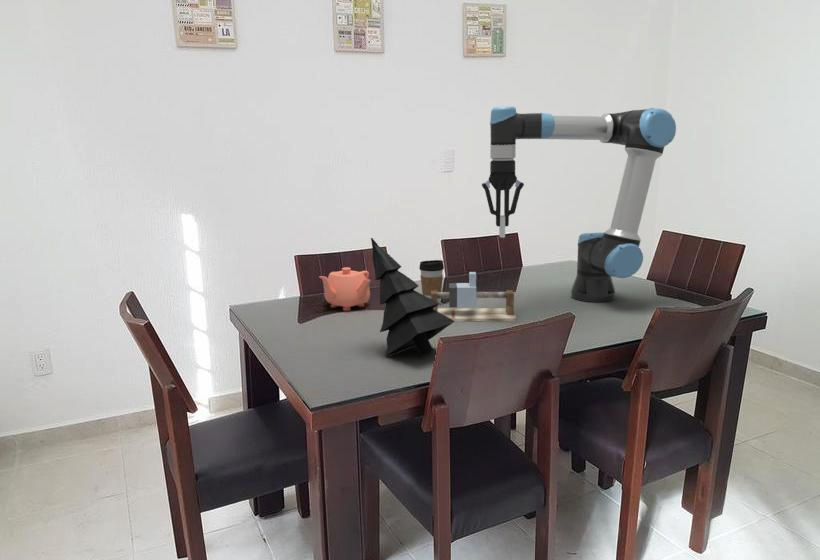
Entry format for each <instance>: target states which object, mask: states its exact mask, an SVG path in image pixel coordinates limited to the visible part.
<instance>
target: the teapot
mask: <svg viewBox="0 0 820 560" xmlns="http://www.w3.org/2000/svg"><path fill="white" fill-rule="evenodd" d="M369 277H370V272H369V271H368V270H362V271H357V270H352V269H351V267H348V266H347V267H342V268H341V270H338V271H331V272H330V273H329V274H328V277H327V276H322V275H320V276H319V278H320V279H321V280H322V282H323V290H324V296H323V297H324V298H325V300H326V301H327V303H328V304H330V307H329V308H334V309H335V308H338V307H342V311H344V312H350V311H351V310H352V309H351V307H355V306H357V307H358V308H362V307H366V305H365V304H366V303H368V302H369V300H370V297H371V291H370V283H371V279H369Z"/></svg>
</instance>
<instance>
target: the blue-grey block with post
mask: <svg viewBox="0 0 820 560" xmlns="http://www.w3.org/2000/svg"><path fill="white" fill-rule="evenodd" d="M468 278H469V279H468V280H469V281H468V282H456V283H457V308H477V298H476V292H477V273H476V271H469V272H468Z"/></svg>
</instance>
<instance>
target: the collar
mask: <svg viewBox="0 0 820 560" xmlns="http://www.w3.org/2000/svg"><path fill="white" fill-rule="evenodd" d="M457 283H458V282H453V283H452V282H451V283H450V282H448V292H449V298H448V306H449V307H448V308H457Z"/></svg>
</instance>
